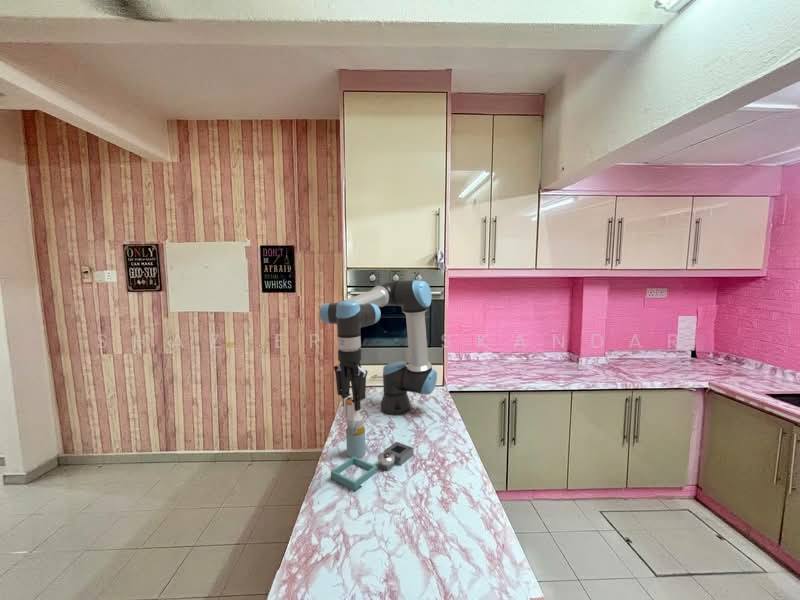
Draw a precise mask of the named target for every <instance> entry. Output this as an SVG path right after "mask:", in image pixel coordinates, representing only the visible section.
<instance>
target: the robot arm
mask: <svg viewBox="0 0 800 600" xmlns="http://www.w3.org/2000/svg"><path fill="white" fill-rule="evenodd" d="M429 285H430V284H429V283H427V282H426V281H424V280H417V279H413V280H408V279H407V280H392V281H388V282H385V283H384V282H383V283H381V284H379V285H376V286H374V287H373V288H371V290H368V291H366V292H362V293H361V294H357V295H355V296H352V297H349V298H347V299H344V300H341V301H337V302H333V303H332V302H326V303H323V304H322V305H321V306H320V308H319V313H318V314H319V318H320V321H322V322H323V323H325V324H330V325H332V324H334V325H336V328H337V329H336V330H337V331H336V332H337V333H336V334H337V337H336V338H337V349H338V350H337V359H338V362H339V364H338V365H337V364H336V365H335V366H333V370H334V373H335V381H336V382H335V383H336V390H337V395H338V396H341V398H342V407H343V416H344V419H347V398H349V397H351V393H350V387H351V392H352V397H353V400H352V421H355V420H357V419H359V418H360V415H361V414H360V410H361V401H363V400H365V399H366V387H367V386H366V385H367V376H368V370H366V369H365V370H364V369H363V368H362V365H361V361H362V349H361V347H362V340H361V339H362V338H361V328H365V327H368V326H372V325H374V324H376V323H378V322H379V321H380V319H381V315H382V314H381V309H380V308H383V307H385V306H394V307H395V306H396V307H401V311H402V312H401V313H404V315H405V319H406V320H405V321H406V332H407V333H406V334H407V343H408V344H407V345H408V355H409V363H408V364H407V362H405V361H394V362H390V363H387V364H385V365H384V366H383V368H382V378H383V379H382V384H383V396H382V400H381V402H380V411H381V413H383V414H385V415H388V416H401V415H405V414H408V413H409V412H410V411H411V409H412V404H411V402H410V398H409V395H408V392H409V393H415V394H420V395H431V394H432V393H433V392H434V390H435V387H436V384H437V380H438V373H437V372H438V371H436V370H435V369H433V366H432V363H431V362H430V361H429V354H428V342H427V340H428V339H427V328H426V314H425V313H426V312H427V311H428V310H429V309H428V307H429V308H430V306H431V303H432V299H433V297H432V289H431V287H430V286H429Z"/></svg>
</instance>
